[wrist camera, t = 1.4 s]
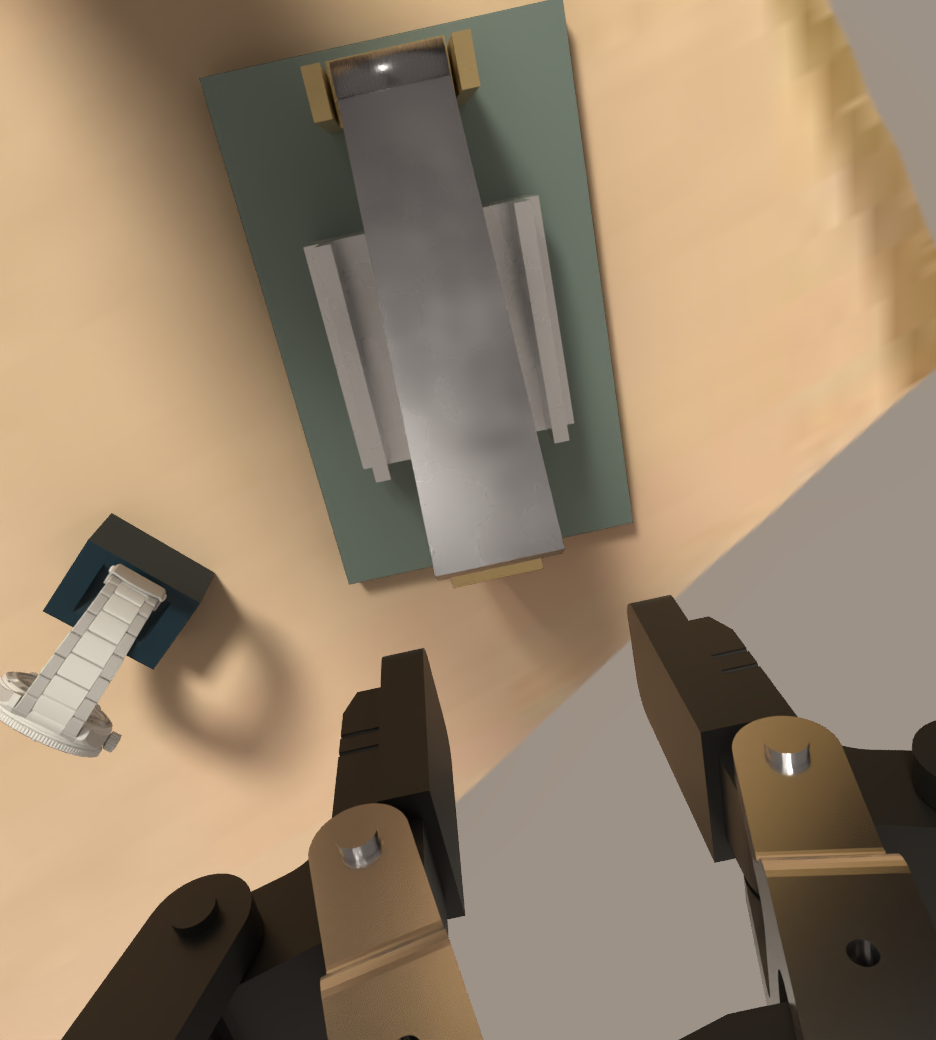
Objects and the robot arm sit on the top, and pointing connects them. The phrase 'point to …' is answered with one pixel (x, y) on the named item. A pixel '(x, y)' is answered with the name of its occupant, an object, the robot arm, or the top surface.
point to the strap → (444, 314)
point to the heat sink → (363, 341)
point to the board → (335, 211)
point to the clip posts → (330, 121)
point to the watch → (103, 635)
